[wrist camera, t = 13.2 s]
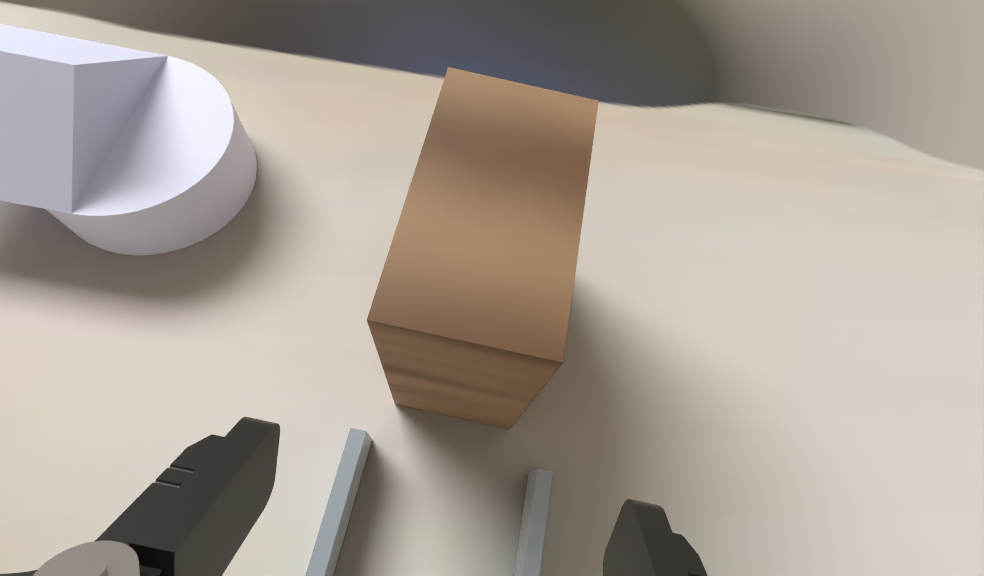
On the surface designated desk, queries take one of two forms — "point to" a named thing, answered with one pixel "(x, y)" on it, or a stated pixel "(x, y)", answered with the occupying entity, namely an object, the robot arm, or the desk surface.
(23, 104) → the wedge on round base
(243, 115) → the desk surface
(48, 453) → the desk surface
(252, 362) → the desk surface
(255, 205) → the desk surface
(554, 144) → the walnut block
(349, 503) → the grey open-top box
